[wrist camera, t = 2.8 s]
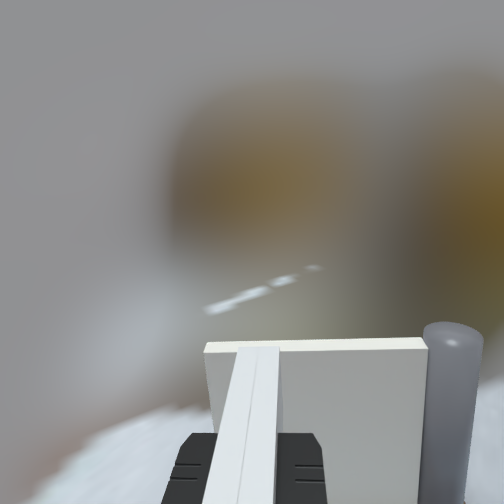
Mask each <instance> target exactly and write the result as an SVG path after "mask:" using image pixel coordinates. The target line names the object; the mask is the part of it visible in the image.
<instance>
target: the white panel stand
mask: <svg viewBox="0 0 504 504" xmlns="http://www.w3.org/2000/svg"><path fill="white" fill-rule="evenodd" d="M260 346H279V347H280V363H281V380H282V397H283V433H313V434H314V436H315V438H316V439H317V441H318V443H319V444H320V446H321V448H322V455H323V465H324V474H325V484H326V493H327V503H328V504H463V503H464V495H465V487H466V478H467V470H468V462H469V454H470V446H471V438H472V429H473V421H474V413H475V405H476V397H477V388H478V380H479V371H480V364H481V356H482V347H483V337H482V335H481V334H480V333H479V332H478V331H476V330H474V329H473V328H471V327H468V326H465V325H462V324H458V323H453V322H436V323H432V324H429V325H427V326H426V327H425V328H424V334H423V340H422V338H420V337H417V338H373V339H372V338H371V339H326V340H282V341H281V340H280V341H235V342H207V345H206V347H205V350H204V353H203V354H204V361H205V368H206V375H207V382H208V390H209V397H210V404H211V411H212V418H213V425H214V433H219V429H220V424H221V420H222V416H223V411H224V407H225V403H226V398H227V394H228V390H229V386H230V381H231V377H232V373H233V368H234V364H235V360H236V355H237V351H238V347H260Z"/></svg>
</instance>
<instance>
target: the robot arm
mask: <svg viewBox="0 0 504 504" xmlns="http://www.w3.org/2000/svg"><path fill="white" fill-rule="evenodd" d="M161 504H328V503H327V493H326V484H325V474H324V465H323V455H322V448H321V446H320V444H319V443H318V441H317V439H316V438H315V436H314V434H313V433H283V397H282V380H281V363H280V347H279V346H260V347H238V351H237V355H236V360H235V364H234V368H233V373H232V377H231V381H230V386H229V390H228V394H227V398H226V403H225V407H224V411H223V416H222V420H221V424H220V429H219V433H192V434H191V435H190V436H189V437H188V438H187V440H186V441H185V442H184V443H183V444H182V446H181V447H180V450H179V453H178V456H177V459H176V461H175V467H173V470H172V473H171V476H170V481H169V482H168V485H167V488H166V491H165V494H164V496H163V499H162V502H161Z"/></svg>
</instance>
